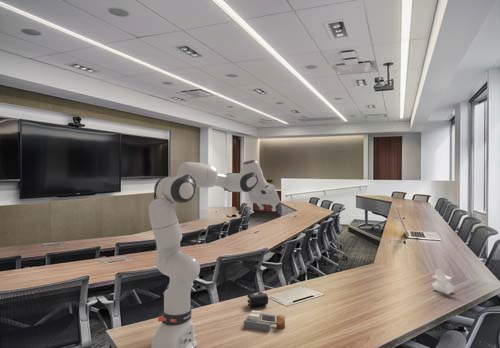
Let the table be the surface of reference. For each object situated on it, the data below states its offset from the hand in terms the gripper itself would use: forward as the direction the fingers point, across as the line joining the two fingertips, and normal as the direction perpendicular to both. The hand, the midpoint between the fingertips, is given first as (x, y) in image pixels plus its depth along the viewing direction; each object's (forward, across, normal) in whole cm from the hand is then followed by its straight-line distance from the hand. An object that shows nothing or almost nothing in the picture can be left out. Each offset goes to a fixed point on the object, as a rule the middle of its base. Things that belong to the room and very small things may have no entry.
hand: (268, 210), depth 181 cm
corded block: (+40, +16, -38) cm, 57 cm away
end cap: (+46, -5, -28) cm, 54 cm away
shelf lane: (+39, +12, -40) cm, 57 cm away
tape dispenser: (+92, +54, +62) cm, 123 cm away
